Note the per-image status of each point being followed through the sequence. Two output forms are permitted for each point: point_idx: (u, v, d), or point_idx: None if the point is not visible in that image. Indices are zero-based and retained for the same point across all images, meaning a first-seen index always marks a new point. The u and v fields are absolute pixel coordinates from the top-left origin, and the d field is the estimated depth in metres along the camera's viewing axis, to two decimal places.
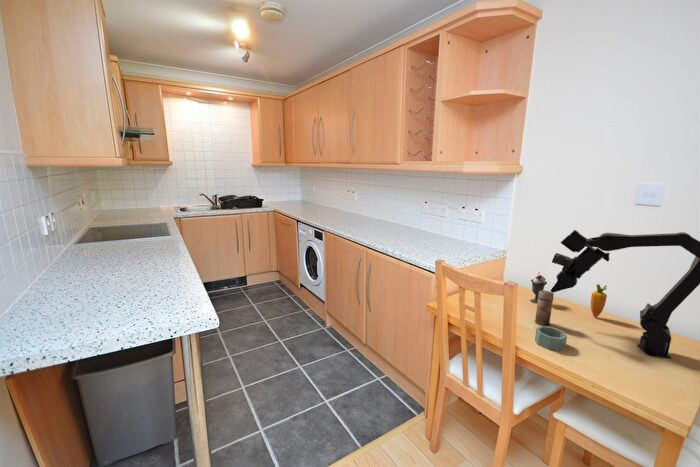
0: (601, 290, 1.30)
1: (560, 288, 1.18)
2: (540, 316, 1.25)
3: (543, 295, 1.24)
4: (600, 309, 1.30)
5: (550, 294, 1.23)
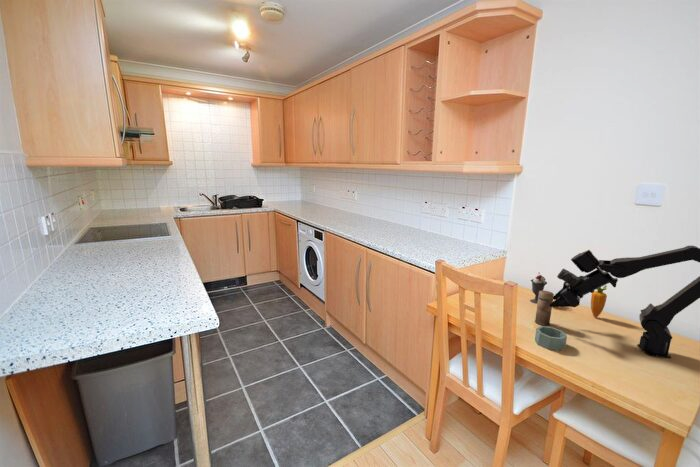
0: (601, 290, 1.30)
1: (560, 305, 1.17)
2: (540, 316, 1.25)
3: (543, 295, 1.24)
4: (600, 309, 1.30)
5: (550, 294, 1.23)
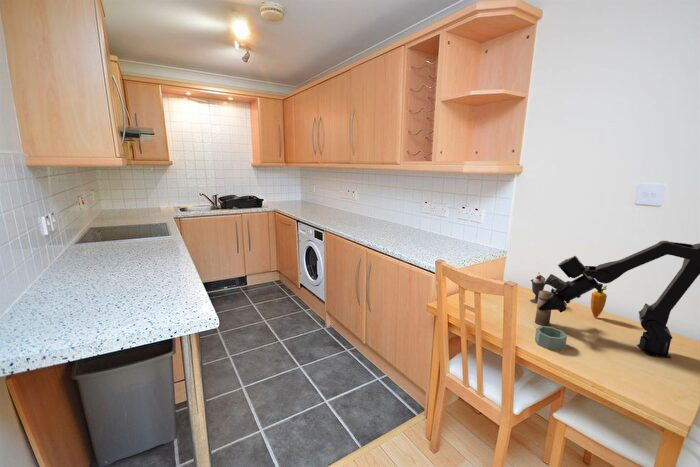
0: (601, 290, 1.30)
1: (548, 308, 1.22)
2: (540, 315, 1.25)
3: (543, 295, 1.24)
4: (600, 309, 1.30)
5: (550, 294, 1.23)
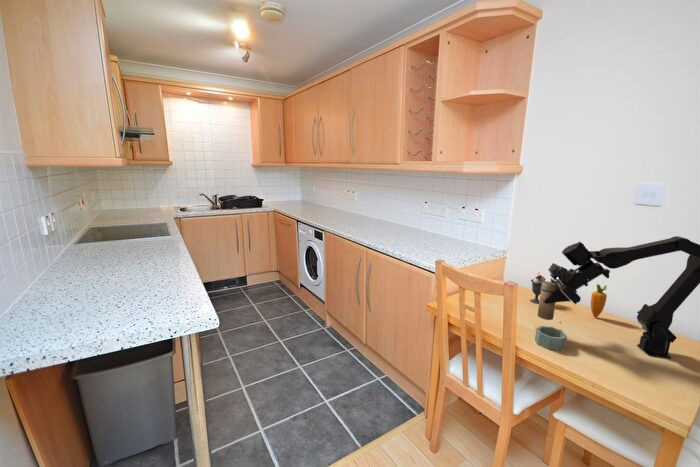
0: (601, 290, 1.30)
1: (556, 300, 1.12)
2: (546, 309, 1.15)
3: (549, 287, 1.13)
4: (600, 309, 1.30)
5: (555, 285, 1.14)
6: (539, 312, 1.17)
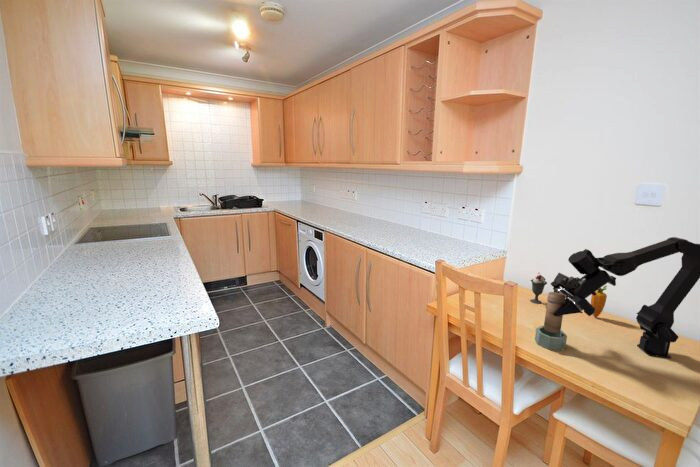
0: (601, 290, 1.30)
1: (566, 312, 1.05)
2: (554, 322, 1.08)
3: (558, 298, 1.06)
4: (600, 309, 1.30)
5: (562, 296, 1.07)
6: (547, 325, 1.10)
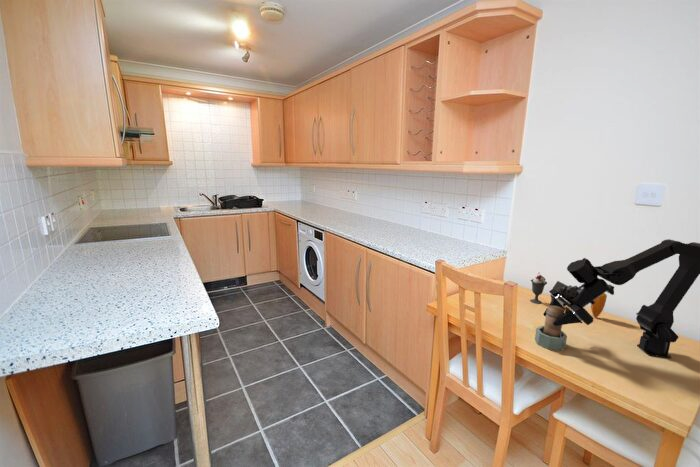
0: None
1: (566, 322, 1.05)
2: (553, 335, 1.09)
3: (557, 312, 1.07)
4: (600, 309, 1.30)
5: (561, 310, 1.08)
6: None
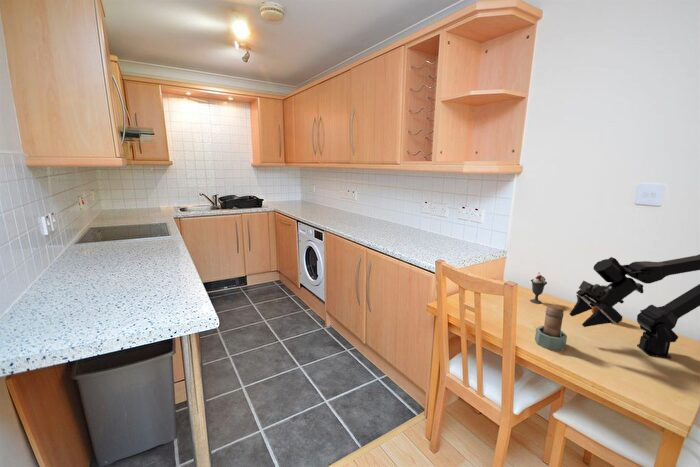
0: None
1: (596, 323, 1.03)
2: (553, 335, 1.09)
3: (556, 312, 1.07)
4: (600, 309, 1.30)
5: (561, 309, 1.08)
6: None
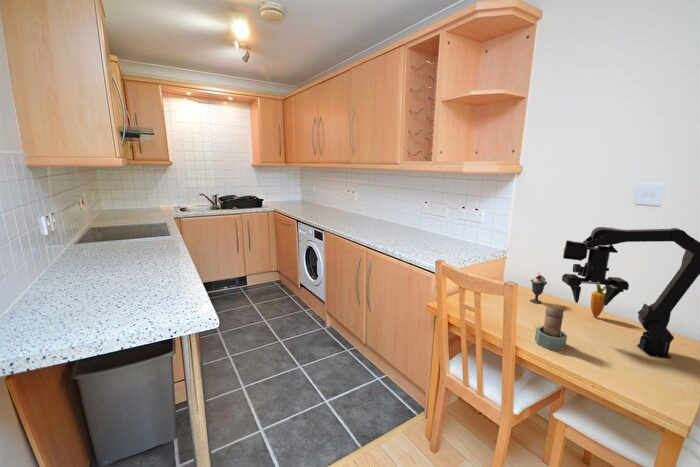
0: (601, 290, 1.30)
1: (575, 294, 1.14)
2: (553, 335, 1.09)
3: (556, 312, 1.07)
4: (600, 309, 1.30)
5: (561, 309, 1.08)
6: None
